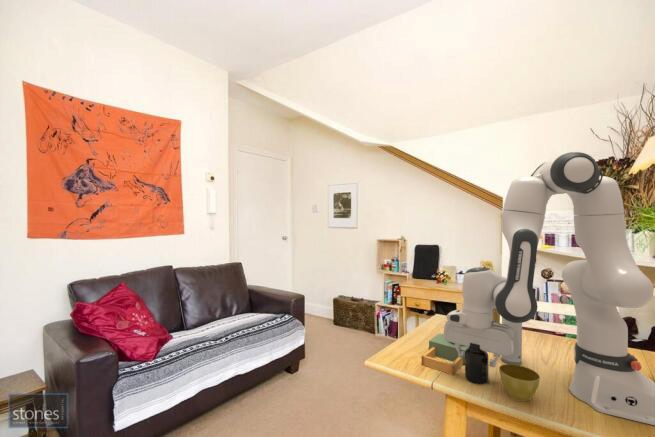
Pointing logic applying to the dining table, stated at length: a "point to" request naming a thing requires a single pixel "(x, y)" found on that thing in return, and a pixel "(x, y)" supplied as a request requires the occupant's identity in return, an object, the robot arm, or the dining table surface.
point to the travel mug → (514, 343)
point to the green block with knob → (445, 348)
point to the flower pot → (519, 381)
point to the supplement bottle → (476, 365)
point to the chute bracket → (441, 362)
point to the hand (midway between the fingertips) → (476, 361)
